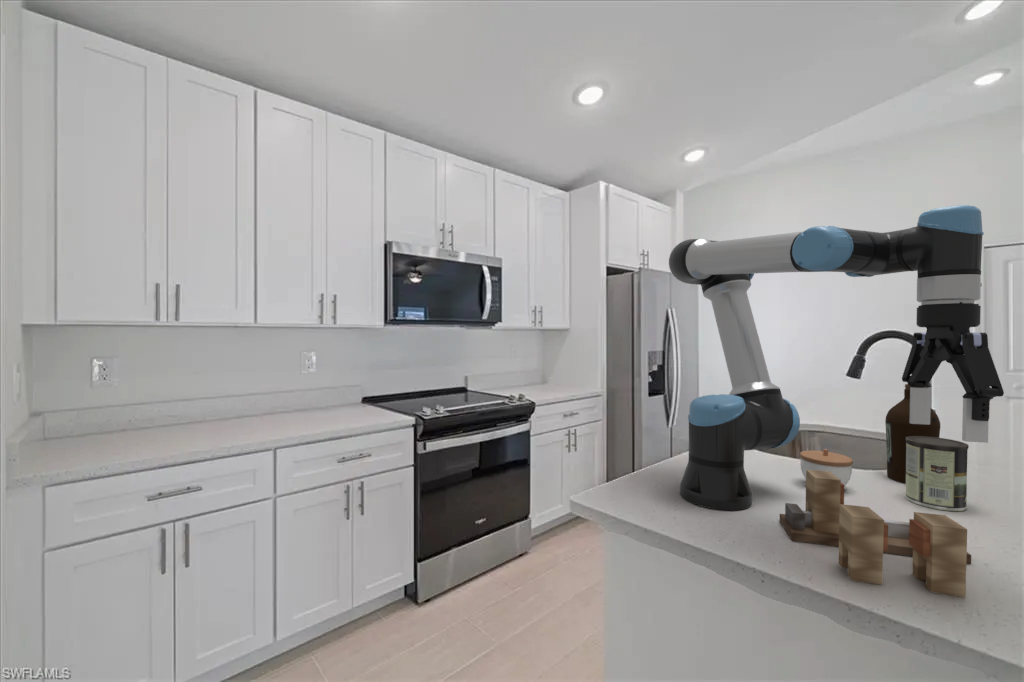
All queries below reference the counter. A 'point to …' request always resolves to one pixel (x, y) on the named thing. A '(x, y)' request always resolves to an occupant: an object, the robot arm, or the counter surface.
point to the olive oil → (904, 435)
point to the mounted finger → (824, 500)
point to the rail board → (801, 530)
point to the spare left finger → (862, 543)
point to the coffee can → (936, 472)
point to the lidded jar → (827, 463)
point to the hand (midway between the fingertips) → (944, 432)
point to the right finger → (939, 553)
